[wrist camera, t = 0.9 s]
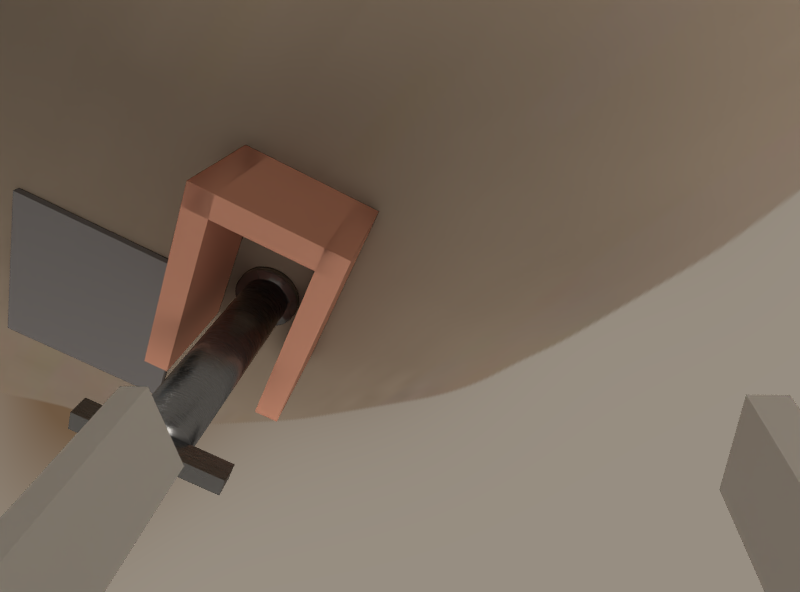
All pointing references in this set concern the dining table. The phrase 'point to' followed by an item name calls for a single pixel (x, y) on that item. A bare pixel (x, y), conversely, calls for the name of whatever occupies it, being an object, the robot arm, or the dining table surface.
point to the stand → (214, 372)
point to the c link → (270, 227)
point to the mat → (83, 290)
